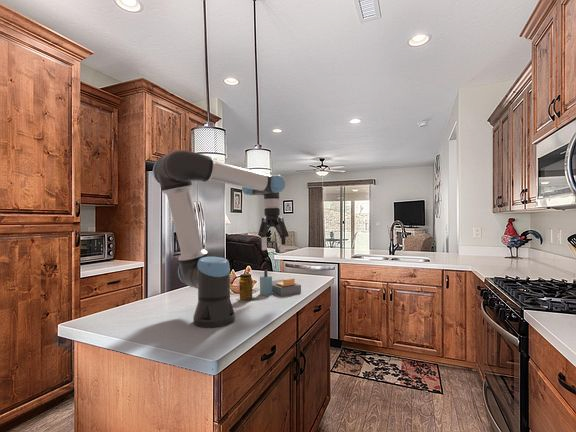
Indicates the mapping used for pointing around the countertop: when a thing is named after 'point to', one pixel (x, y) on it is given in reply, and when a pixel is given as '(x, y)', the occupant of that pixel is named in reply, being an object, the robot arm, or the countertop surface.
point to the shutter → (287, 282)
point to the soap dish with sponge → (285, 289)
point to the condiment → (246, 288)
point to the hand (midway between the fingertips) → (273, 250)
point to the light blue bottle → (265, 284)
